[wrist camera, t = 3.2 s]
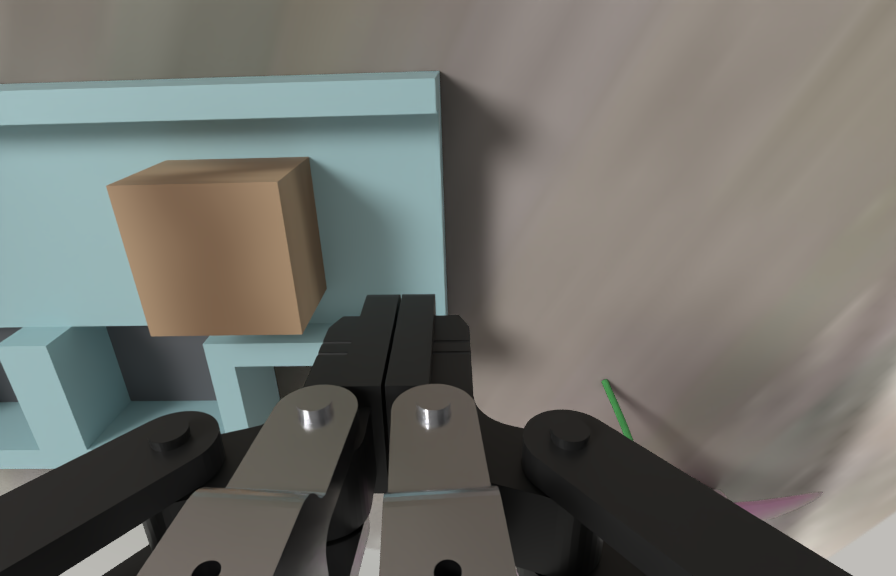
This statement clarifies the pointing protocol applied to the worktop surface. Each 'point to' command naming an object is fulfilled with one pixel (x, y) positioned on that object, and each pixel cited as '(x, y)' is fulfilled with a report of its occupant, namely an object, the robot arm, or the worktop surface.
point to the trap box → (107, 267)
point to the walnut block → (223, 245)
